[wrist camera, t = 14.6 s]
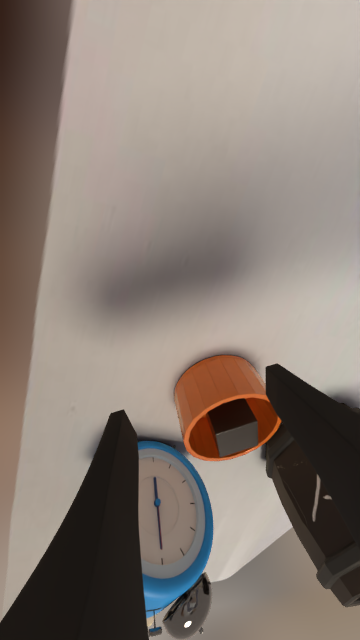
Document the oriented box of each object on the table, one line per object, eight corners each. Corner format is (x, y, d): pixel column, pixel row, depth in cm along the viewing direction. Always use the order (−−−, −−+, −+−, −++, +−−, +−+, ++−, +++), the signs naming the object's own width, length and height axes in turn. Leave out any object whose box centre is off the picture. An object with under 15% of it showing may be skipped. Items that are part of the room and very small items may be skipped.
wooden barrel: (384, 391, 34) (550, 521, 21) (330, 460, 42) (422, 584, 29) (282, 397, 30) (408, 566, 16) (244, 472, 38) (307, 624, 25)
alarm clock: (196, 443, 31) (243, 618, 18) (176, 468, 33) (205, 640, 21) (103, 431, 26) (78, 658, 13) (87, 461, 28) (52, 681, 16)
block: (231, 374, 25) (258, 421, 20) (234, 397, 27) (258, 445, 22) (197, 384, 25) (215, 434, 20) (203, 407, 27) (220, 457, 22)
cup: (254, 344, 24) (284, 380, 19) (256, 403, 29) (280, 443, 25) (165, 370, 23) (173, 414, 19) (183, 425, 29) (193, 471, 24)
